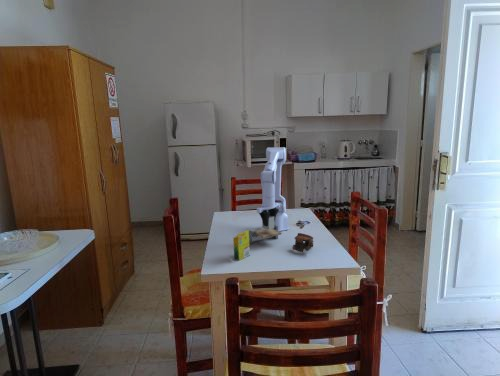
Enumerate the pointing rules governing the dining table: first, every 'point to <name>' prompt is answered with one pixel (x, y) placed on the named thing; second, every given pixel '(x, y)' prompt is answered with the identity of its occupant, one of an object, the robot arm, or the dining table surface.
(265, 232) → the trapdoor
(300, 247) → the brown figurine
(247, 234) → the crayon box
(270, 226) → the grey rectangular block
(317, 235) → the dining table surface
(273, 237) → the frame
